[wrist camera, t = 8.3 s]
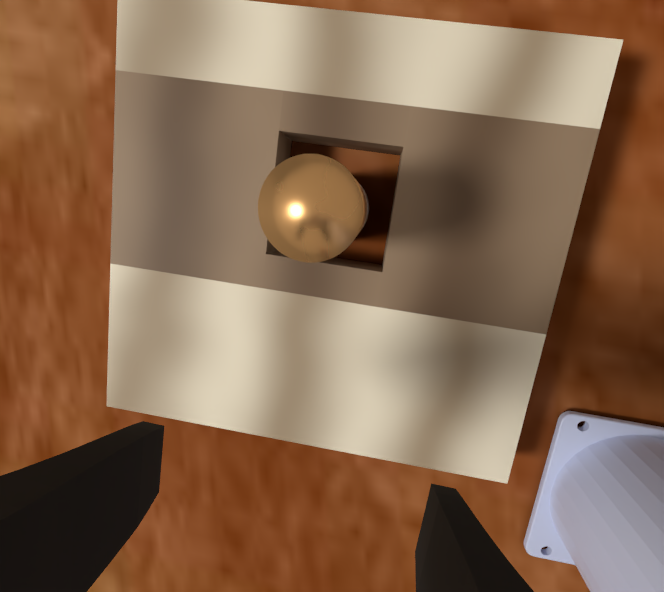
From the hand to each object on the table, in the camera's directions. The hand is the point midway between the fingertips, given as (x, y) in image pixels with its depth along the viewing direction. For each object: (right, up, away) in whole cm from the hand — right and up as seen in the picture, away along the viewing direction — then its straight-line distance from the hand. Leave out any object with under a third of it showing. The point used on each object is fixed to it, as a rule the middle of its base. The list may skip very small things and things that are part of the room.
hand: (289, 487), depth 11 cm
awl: (+1, +9, +9) cm, 13 cm away
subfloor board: (+1, +7, +9) cm, 12 cm away
